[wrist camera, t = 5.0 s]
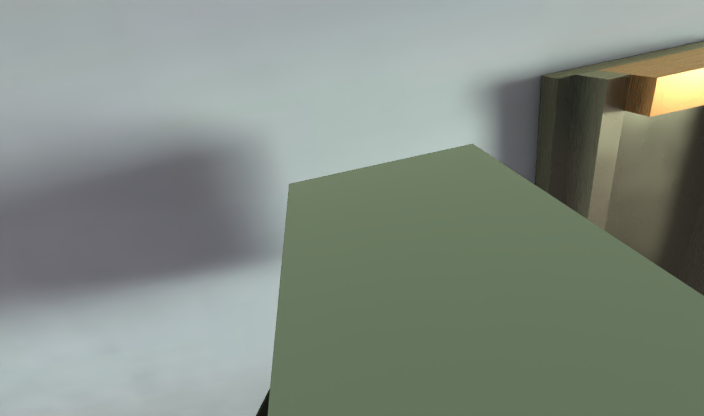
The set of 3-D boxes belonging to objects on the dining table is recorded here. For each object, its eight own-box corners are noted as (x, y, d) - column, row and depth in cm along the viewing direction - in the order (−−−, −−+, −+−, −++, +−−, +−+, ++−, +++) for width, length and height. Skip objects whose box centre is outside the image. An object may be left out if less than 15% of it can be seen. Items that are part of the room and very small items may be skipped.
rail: (661, 344, 22) (719, 395, 19) (523, 377, 22) (559, 434, 19) (759, 29, 14) (888, 28, 11) (541, 75, 14) (610, 87, 11)
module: (477, 323, 11) (776, 822, 4) (338, 356, 11) (402, 925, 4) (472, 143, 9) (1308, 694, 1) (289, 183, 8) (211, 1003, 1)
